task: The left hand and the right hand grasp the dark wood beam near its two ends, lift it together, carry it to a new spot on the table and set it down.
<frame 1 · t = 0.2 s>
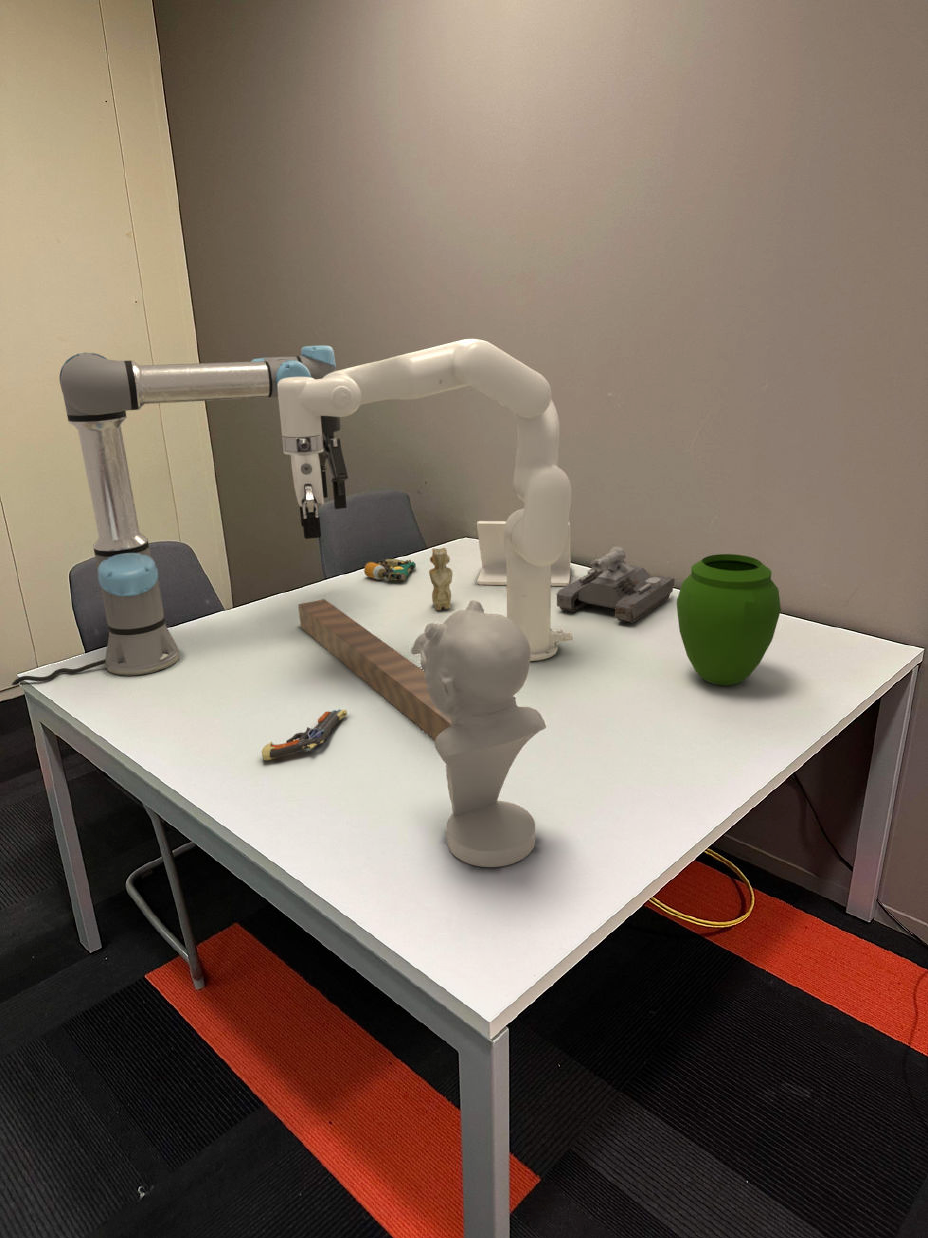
left hand: (331, 502, 209), 27 cm above the table, tool pointing down, fingers open, 13 cm apart
right hand: (311, 531, 169), 31 cm above the table, tool pointing down, fingers open, 9 cm apart
spray gun: (393, 574, 243), on the table
sculpture: (442, 607, 216), on the table
beam: (378, 677, 178), on the table
toy: (615, 605, 214), on the table
toy gun: (306, 739, 153), on the table
bust sculpture: (470, 832, 125), on the table
tablet stand: (525, 575, 239), on the table
vase: (721, 678, 172), on the table
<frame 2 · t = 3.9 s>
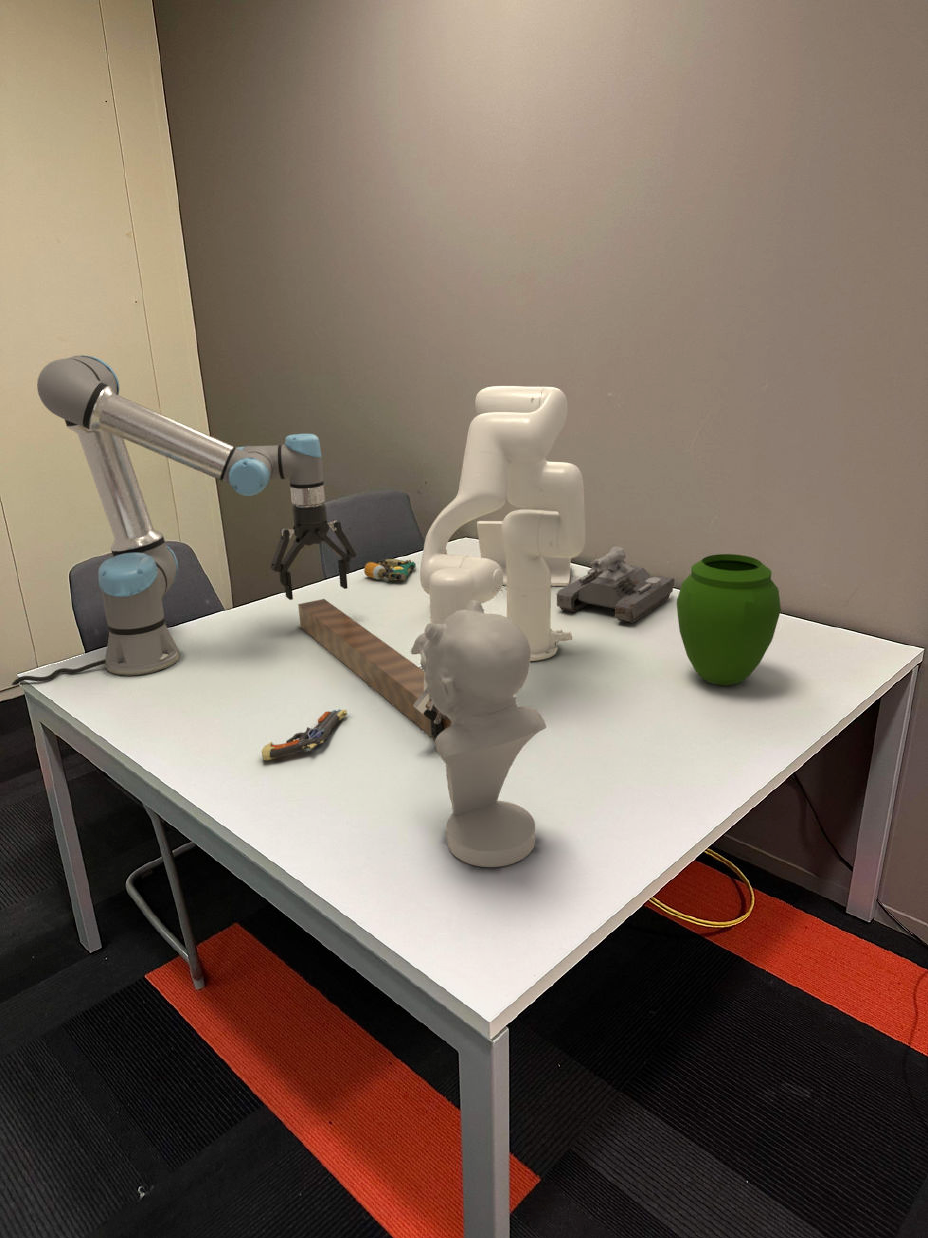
left hand: (317, 592, 201), 9 cm above the table, tool pointing down, fingers open, 13 cm apart
right hand: (457, 734, 151), 1 cm above the table, tool pointing down, fingers closed on beam, 6 cm apart
beam: (378, 677, 178), on the table, touching right hand
everything else where it was.
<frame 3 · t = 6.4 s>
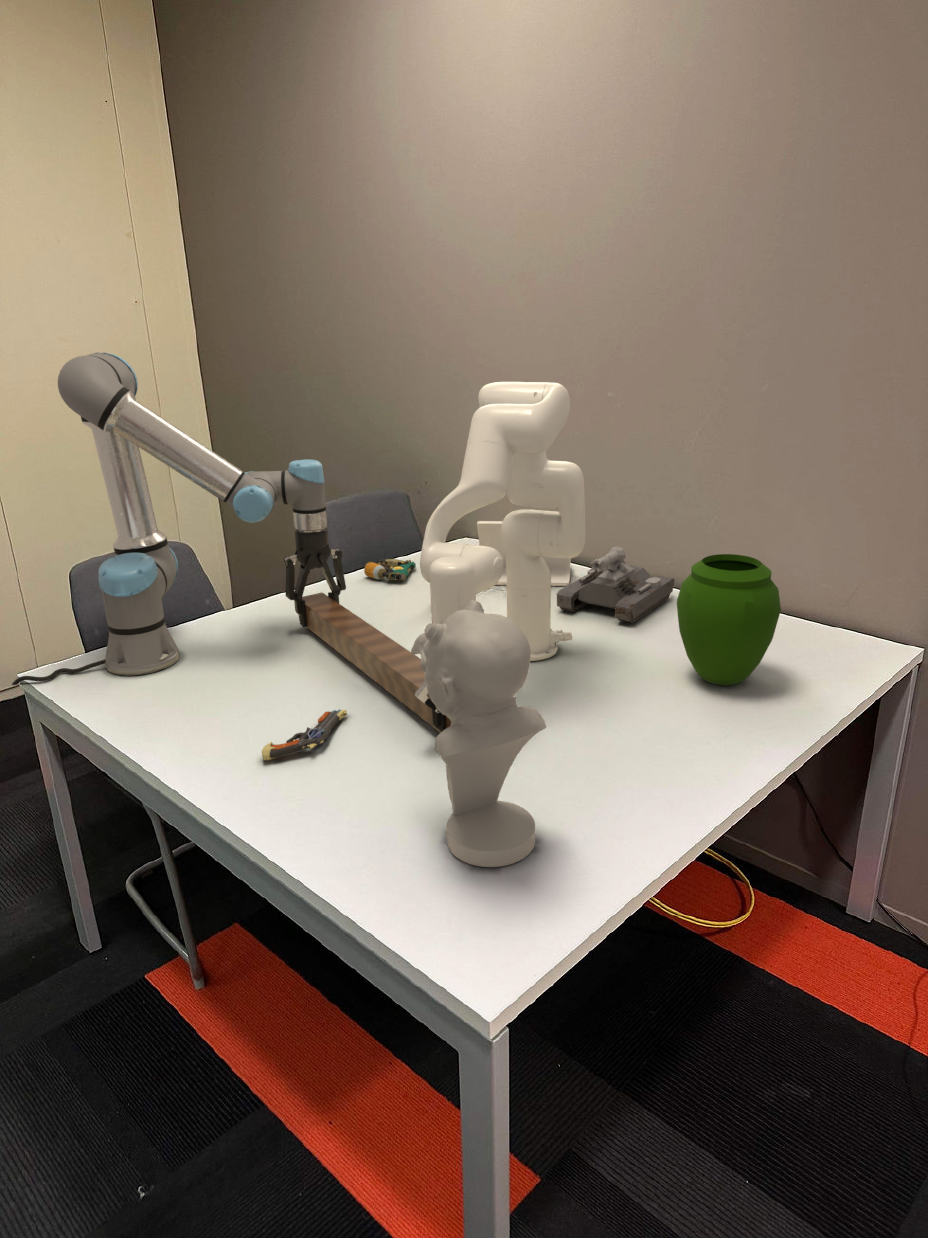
left hand: (318, 622, 203), 2 cm above the table, tool pointing down, fingers closed on beam, 7 cm apart
right hand: (458, 722, 150), 3 cm above the table, tool pointing down, fingers closed on beam, 6 cm apart
beam: (378, 668, 177), point 2 cm above the table, touching right hand, left hand
everything else where it was.
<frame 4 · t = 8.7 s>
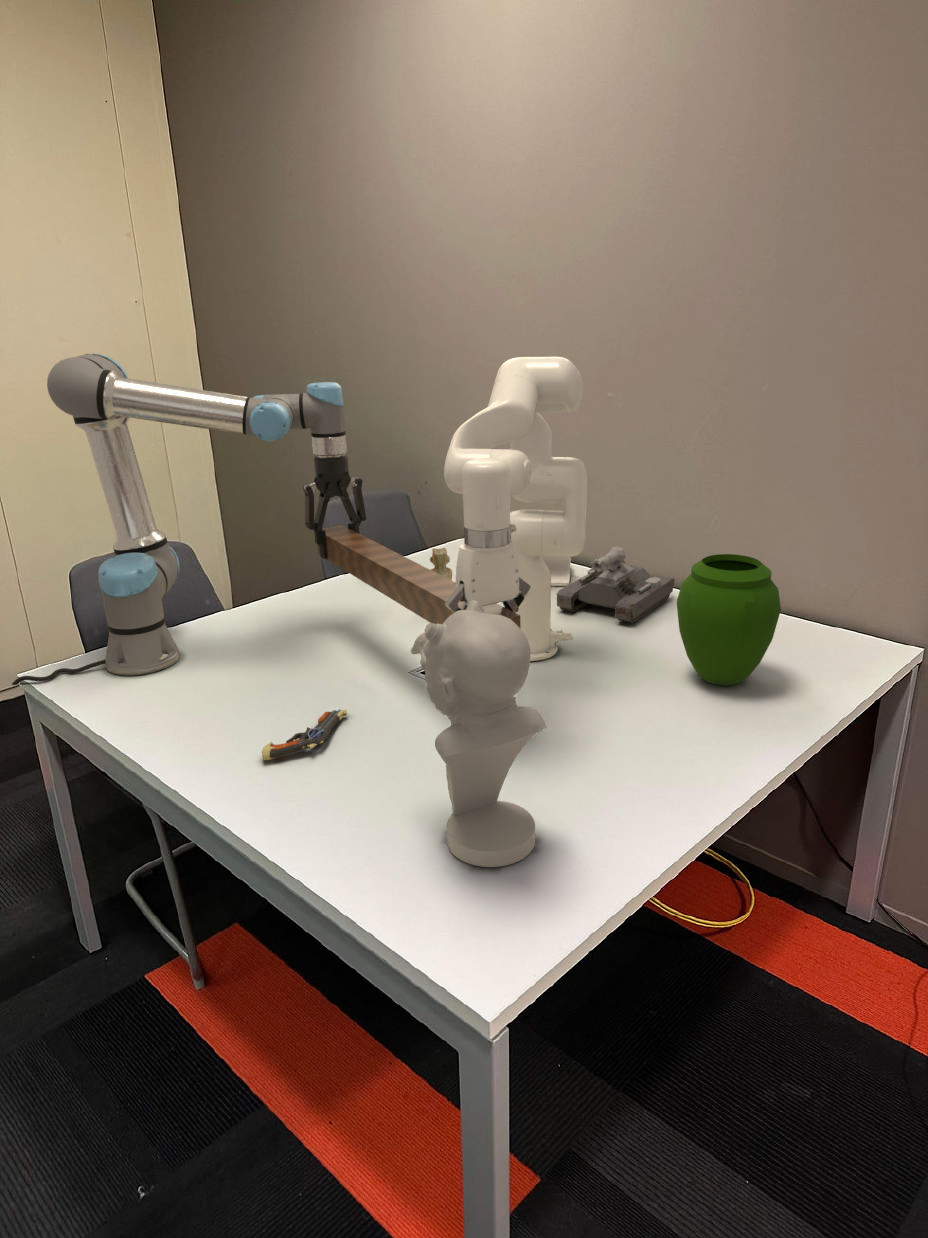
left hand: (339, 554, 197), 19 cm above the table, tool pointing down, fingers closed on beam, 7 cm apart
right hand: (489, 637, 144), 20 cm above the table, tool pointing down, fingers closed on beam, 6 cm apart
beam: (402, 593, 171), point 18 cm above the table, touching right hand, left hand
everything else where it was.
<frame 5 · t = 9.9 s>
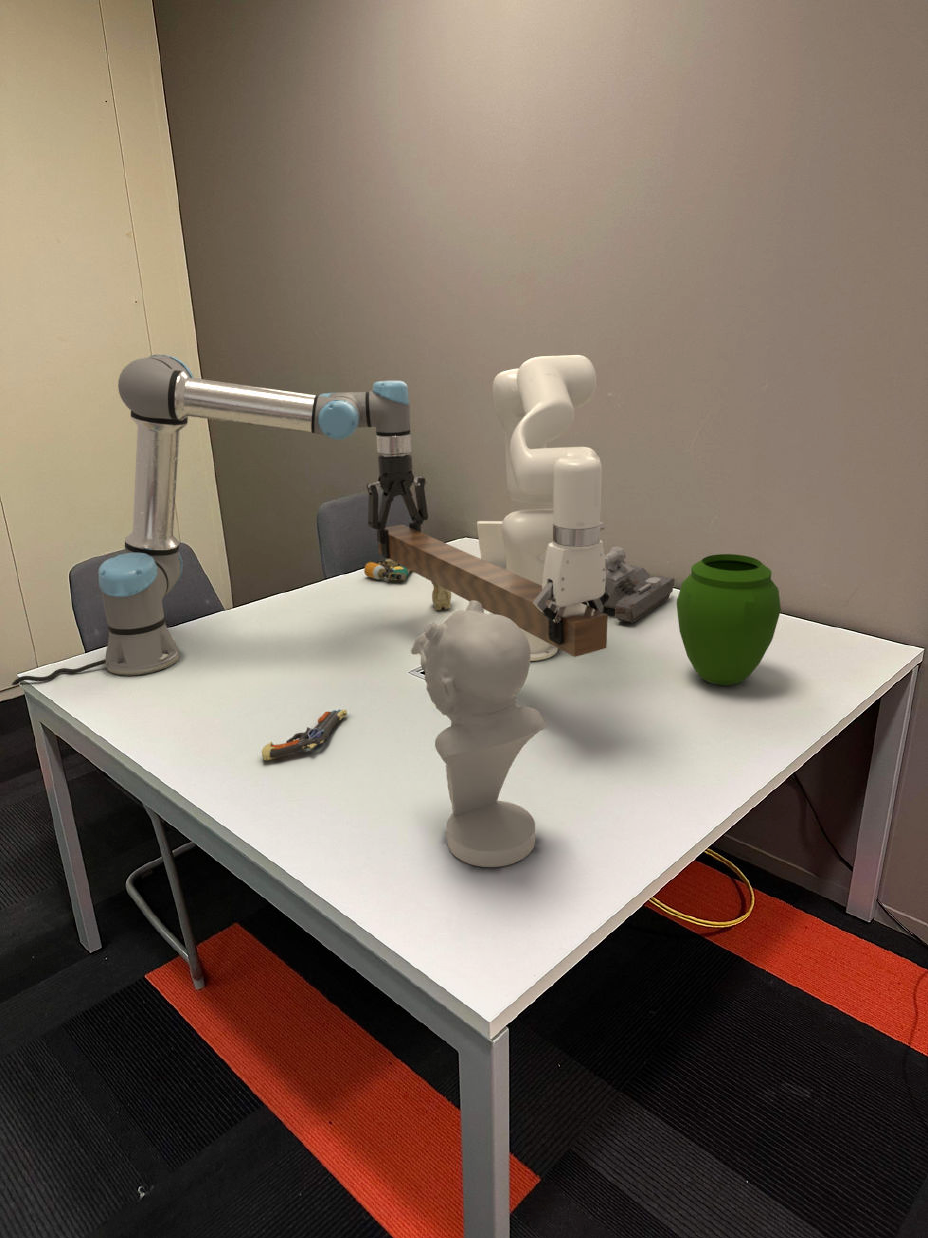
left hand: (400, 553, 196), 19 cm above the table, tool pointing down, fingers closed on beam, 7 cm apart
right hand: (574, 636, 143), 20 cm above the table, tool pointing down, fingers closed on beam, 6 cm apart
beam: (473, 593, 170), point 18 cm above the table, touching right hand, left hand
everything else where it was.
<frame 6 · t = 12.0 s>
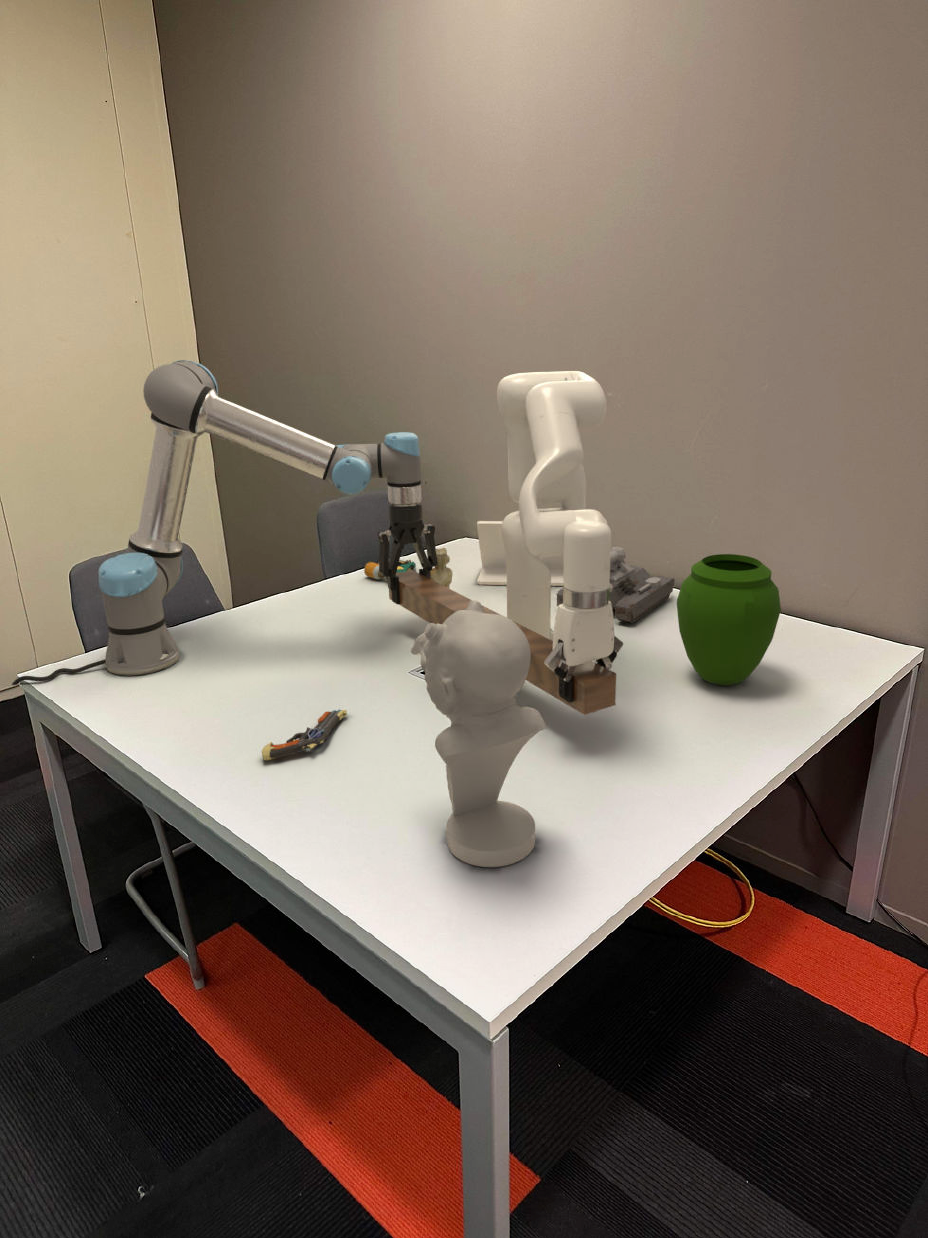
left hand: (410, 599, 200), 8 cm above the table, tool pointing down, fingers closed on beam, 7 cm apart
right hand: (583, 693, 147), 9 cm above the table, tool pointing down, fingers closed on beam, 6 cm apart
beam: (483, 643, 174), point 7 cm above the table, touching right hand, left hand
everything else where it was.
when the left hand's fingers open (1 cm above the table, at t = 13.5 s): beam stays where it is, on the table.
when the right hand's fingers open (2 cm above the table, at t = 13.7 s): beam stays where it is, on the table.
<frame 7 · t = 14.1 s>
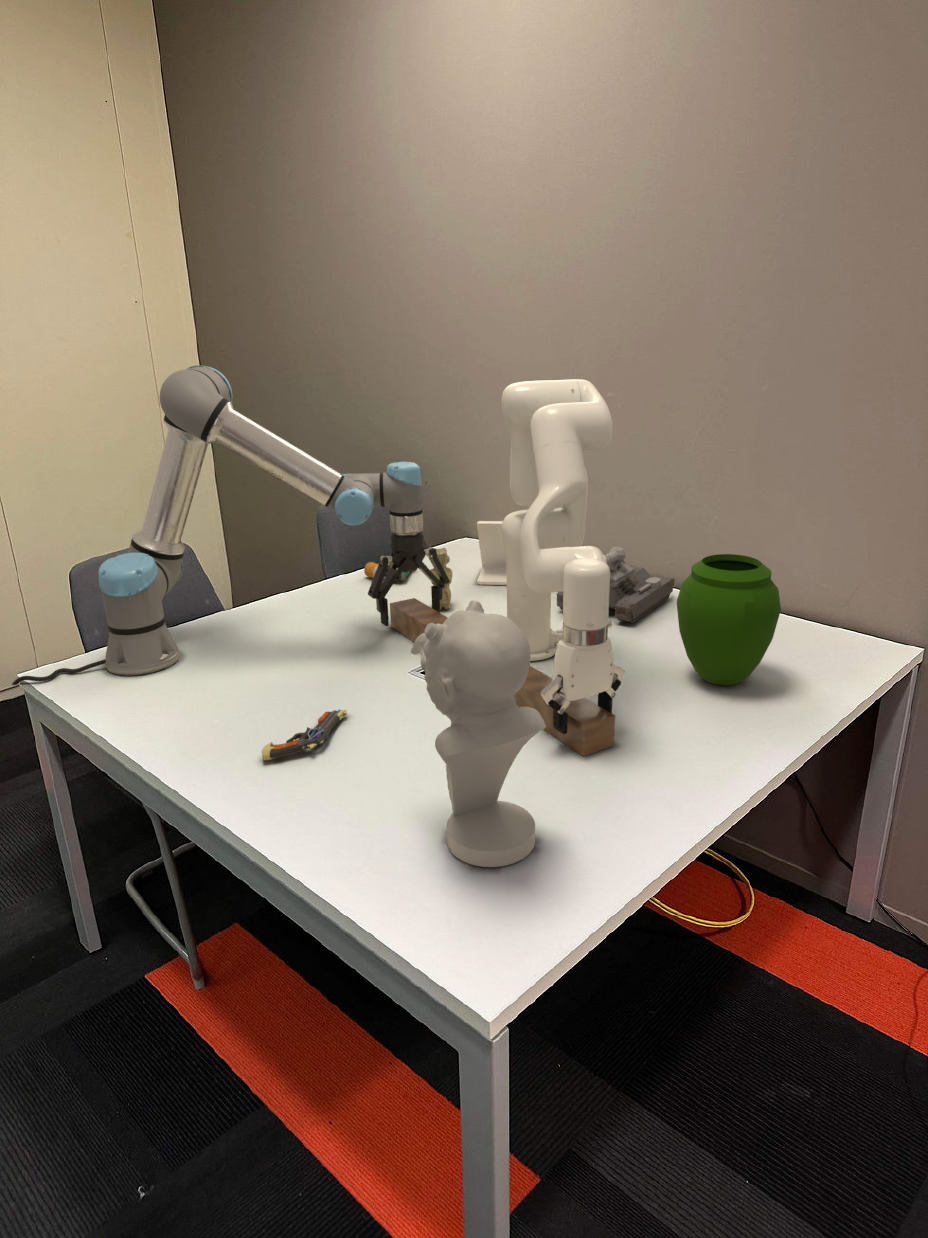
left hand: (410, 618, 202), 3 cm above the table, tool pointing down, fingers open, 13 cm apart
right hand: (582, 723, 149), 3 cm above the table, tool pointing down, fingers open, 9 cm apart
beam: (484, 676, 176), on the table
everything else where it was.
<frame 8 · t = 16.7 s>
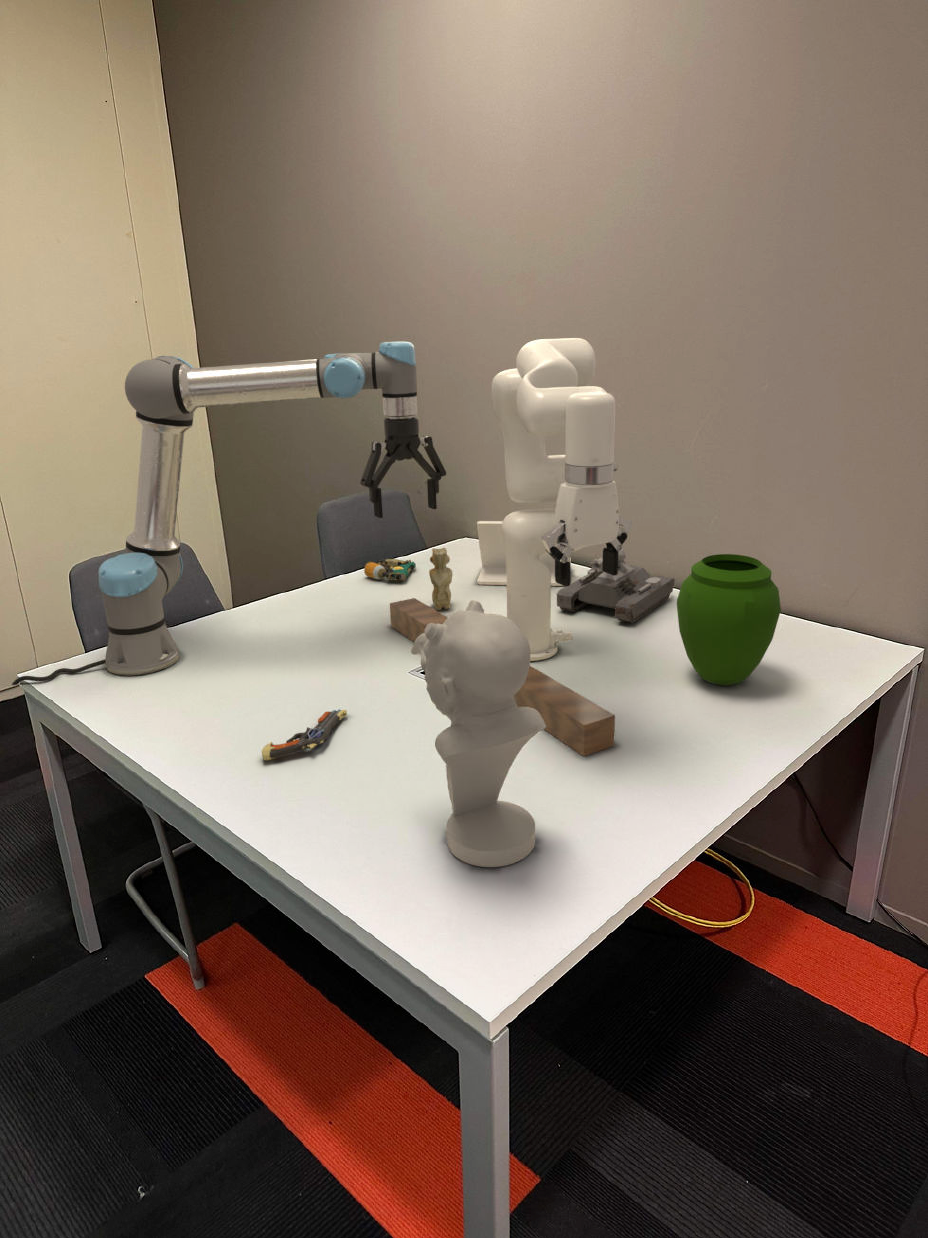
left hand: (406, 512, 193), 28 cm above the table, tool pointing down, fingers open, 13 cm apart
right hand: (586, 578, 139), 30 cm above the table, tool pointing down, fingers open, 9 cm apart
nothing on the table moved.
at the end: beam inside the target area (0.1 cm from its centre), on the table; beam tilted 0°; beam never tilted more than 1° during the clip; both hands held the beam at the same time; the left hand is holding nothing; the right hand is holding nothing; beam at rest at the end (0.0 cm/s) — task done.
